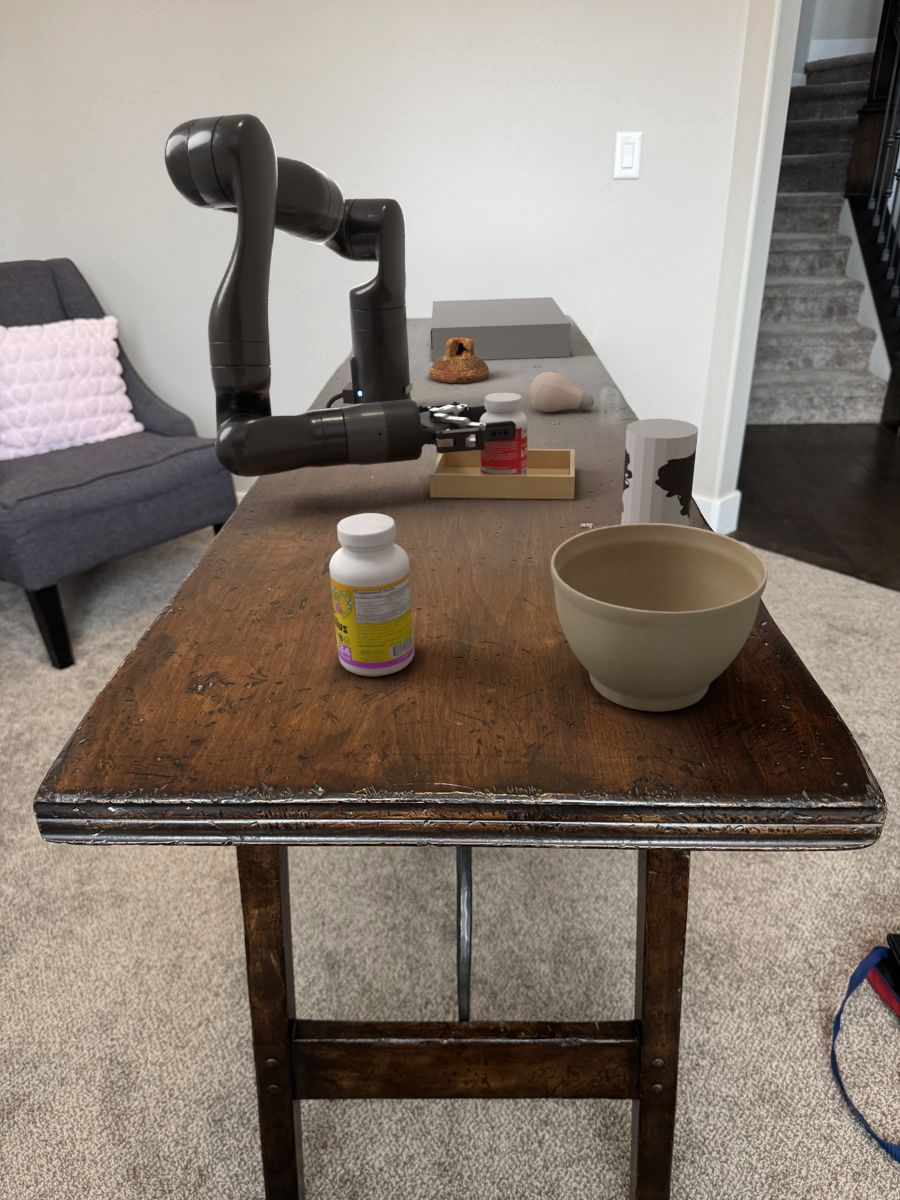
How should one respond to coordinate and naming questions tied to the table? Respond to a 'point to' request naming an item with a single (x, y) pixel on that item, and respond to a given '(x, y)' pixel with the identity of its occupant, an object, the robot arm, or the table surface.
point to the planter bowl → (656, 609)
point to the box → (502, 327)
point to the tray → (505, 476)
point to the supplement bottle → (371, 597)
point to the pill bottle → (507, 452)
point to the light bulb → (557, 394)
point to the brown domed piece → (459, 363)
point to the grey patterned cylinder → (659, 471)
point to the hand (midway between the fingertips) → (505, 420)
